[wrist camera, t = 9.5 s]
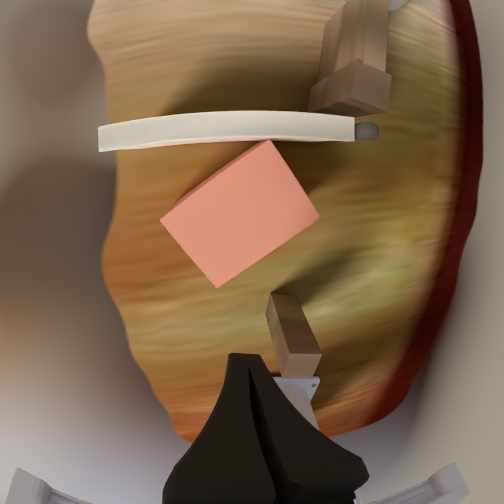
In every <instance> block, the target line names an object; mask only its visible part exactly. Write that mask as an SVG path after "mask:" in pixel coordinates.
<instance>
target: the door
mask: <svg viewBox="0 0 504 504" xmlns="http://www.w3.org/2000/svg"><path fill="white" fill-rule="evenodd" d="M265 140H271V141H304V142H315V141H354V117H347V116H338V115H329V114H318V113H305V112H287V111H220V112H202V113H189V114H178V115H169V116H160V117H153V118H146V119H139V120H133V121H127V122H121V123H116V124H111V125H106V126H102V127H98V141H99V152H102V151H110V150H117V149H143V148H150V147H159V146H168V145H179V144H190V143H205V142H224V141H265Z"/></svg>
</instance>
